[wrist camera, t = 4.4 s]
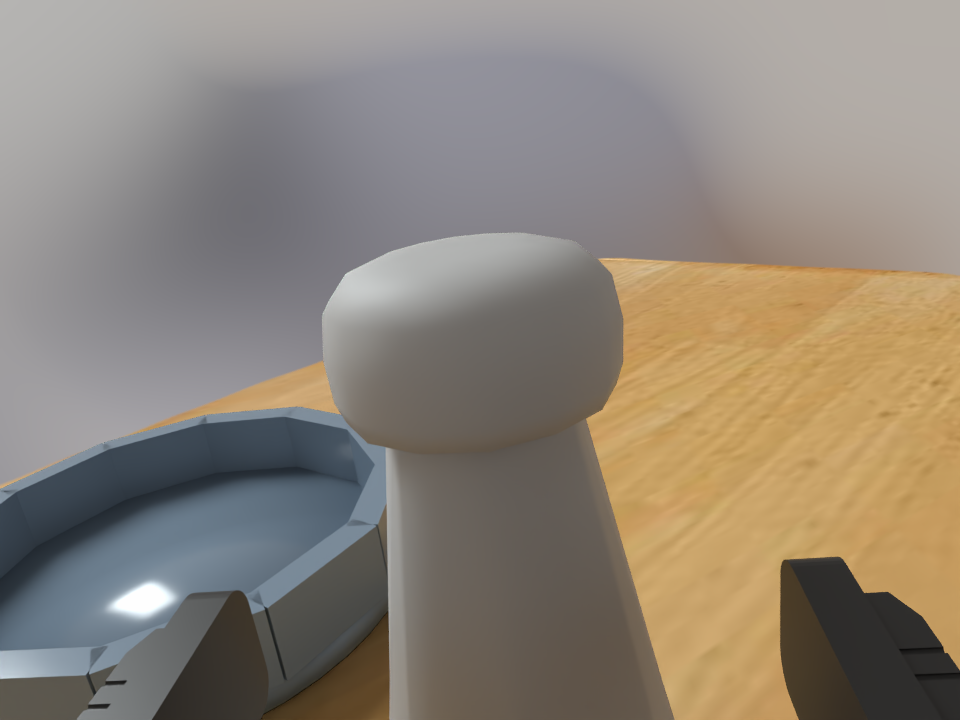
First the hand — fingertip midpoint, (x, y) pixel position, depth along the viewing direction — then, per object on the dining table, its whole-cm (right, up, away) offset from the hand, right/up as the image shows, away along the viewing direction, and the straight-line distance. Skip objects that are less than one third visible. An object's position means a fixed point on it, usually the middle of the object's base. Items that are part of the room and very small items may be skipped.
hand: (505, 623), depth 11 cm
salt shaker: (+1, -7, +4) cm, 8 cm away
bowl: (-11, -4, +16) cm, 19 cm away
